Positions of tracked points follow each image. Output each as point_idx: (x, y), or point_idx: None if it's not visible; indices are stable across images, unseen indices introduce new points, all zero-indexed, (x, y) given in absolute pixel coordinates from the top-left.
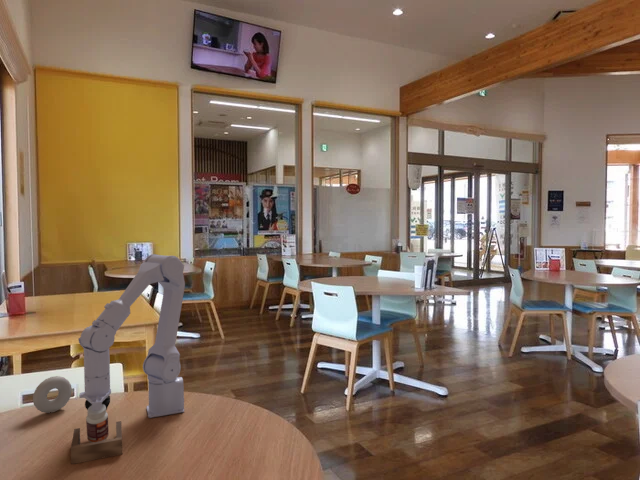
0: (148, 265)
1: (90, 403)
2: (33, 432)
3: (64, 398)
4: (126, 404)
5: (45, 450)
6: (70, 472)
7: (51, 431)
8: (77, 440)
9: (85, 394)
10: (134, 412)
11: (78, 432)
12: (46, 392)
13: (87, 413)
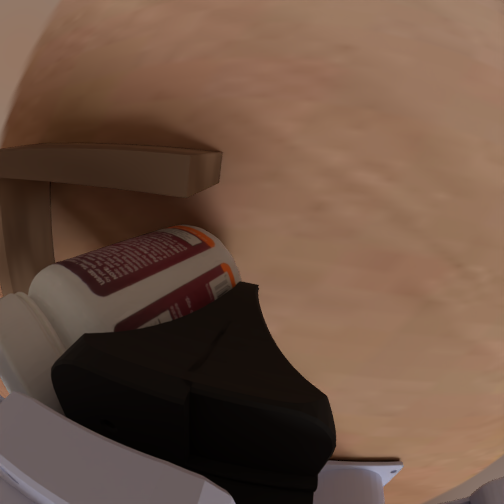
0: None
1: (79, 409)
2: (487, 10)
3: None
4: (491, 410)
5: (219, 12)
6: (4, 147)
7: (468, 70)
8: (29, 177)
9: (9, 494)
10: (403, 433)
11: (114, 183)
12: None
13: (1, 301)
